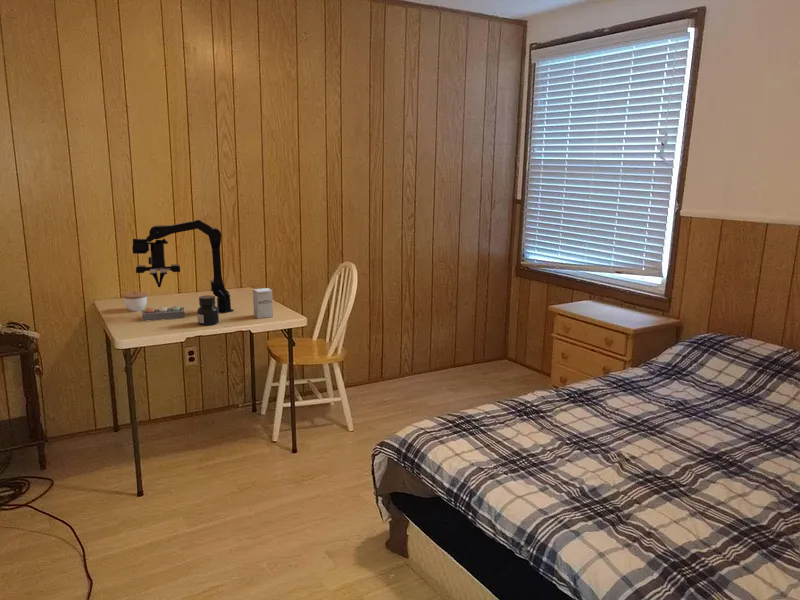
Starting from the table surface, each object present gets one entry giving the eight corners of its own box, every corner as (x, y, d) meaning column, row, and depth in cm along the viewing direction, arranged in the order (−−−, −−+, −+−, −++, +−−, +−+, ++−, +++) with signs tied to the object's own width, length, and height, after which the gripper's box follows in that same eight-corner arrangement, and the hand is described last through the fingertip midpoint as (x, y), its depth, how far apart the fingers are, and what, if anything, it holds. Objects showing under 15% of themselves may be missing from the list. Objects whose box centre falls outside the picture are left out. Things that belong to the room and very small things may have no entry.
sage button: (180, 310, 285) (179, 305, 284) (180, 311, 281) (180, 307, 281) (171, 310, 283) (171, 306, 283) (172, 312, 280) (171, 308, 280)
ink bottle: (199, 321, 274) (197, 295, 272) (219, 320, 276) (218, 294, 274) (197, 326, 265) (195, 299, 263) (218, 325, 267) (216, 298, 265)
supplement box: (257, 318, 279) (256, 291, 276) (253, 315, 286) (252, 288, 283) (273, 317, 282) (272, 290, 280) (269, 313, 289) (268, 287, 286)
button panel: (184, 313, 288) (183, 307, 288) (184, 317, 280) (184, 311, 279) (143, 316, 282) (142, 310, 281) (142, 321, 274) (141, 314, 273)
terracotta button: (154, 311, 281) (154, 307, 280) (154, 313, 278) (154, 309, 277) (146, 312, 280) (146, 308, 279) (146, 314, 276) (145, 310, 276)
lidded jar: (133, 306, 301) (131, 288, 299) (152, 308, 298) (151, 289, 296) (119, 312, 290) (117, 292, 288) (139, 313, 288) (137, 293, 286)
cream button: (167, 310, 283) (167, 306, 282) (167, 312, 279) (167, 308, 279) (159, 311, 281) (158, 307, 281) (159, 313, 278) (158, 309, 278)
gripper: (179, 250, 289) (180, 283, 292) (136, 251, 283) (138, 284, 286) (179, 254, 278) (180, 287, 282) (134, 254, 272) (137, 289, 276)
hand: (159, 287), depth 281 cm, fingers closed
